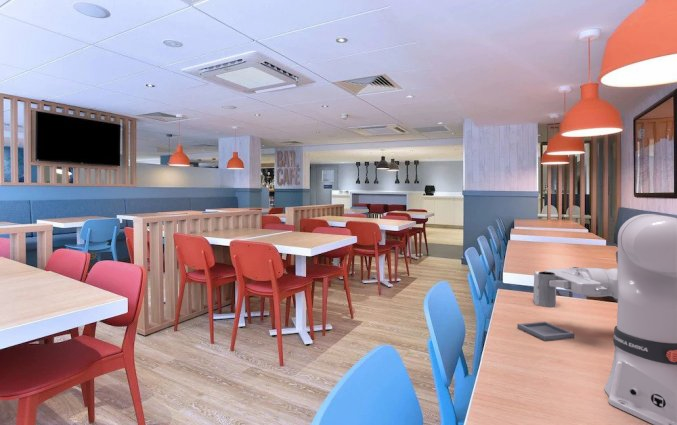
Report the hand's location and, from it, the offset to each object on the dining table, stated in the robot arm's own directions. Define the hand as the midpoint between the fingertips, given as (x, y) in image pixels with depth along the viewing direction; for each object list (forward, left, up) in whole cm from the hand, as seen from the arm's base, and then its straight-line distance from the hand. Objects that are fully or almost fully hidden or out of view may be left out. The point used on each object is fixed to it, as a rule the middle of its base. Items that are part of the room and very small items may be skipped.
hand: (543, 280), depth 115 cm
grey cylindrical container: (0, -1, -8) cm, 8 cm away
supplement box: (+27, -27, -17) cm, 41 cm away
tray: (0, -1, -16) cm, 17 cm away
